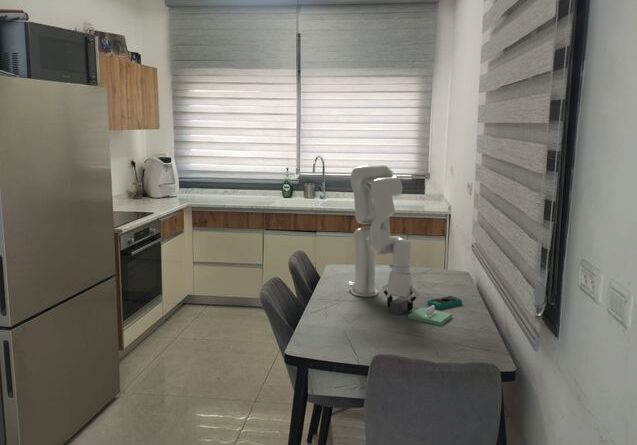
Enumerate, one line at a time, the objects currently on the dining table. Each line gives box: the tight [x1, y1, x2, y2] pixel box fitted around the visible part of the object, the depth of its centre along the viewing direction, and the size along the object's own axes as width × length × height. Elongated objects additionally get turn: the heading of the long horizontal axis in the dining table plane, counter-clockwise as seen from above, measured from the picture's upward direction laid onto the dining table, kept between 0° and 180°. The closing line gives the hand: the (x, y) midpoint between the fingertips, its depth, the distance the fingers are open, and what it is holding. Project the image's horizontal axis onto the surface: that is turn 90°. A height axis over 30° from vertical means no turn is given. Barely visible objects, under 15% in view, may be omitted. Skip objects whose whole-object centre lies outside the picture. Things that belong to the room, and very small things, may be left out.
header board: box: [407, 305, 453, 326], centre depth 224 cm, size 14×12×4 cm
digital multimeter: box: [427, 295, 463, 310], centre depth 241 cm, size 7×15×3 cm, turn 121°
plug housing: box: [389, 296, 409, 316], centre depth 232 cm, size 4×9×5 cm, turn 145°
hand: (399, 308), depth 232 cm, fingers open, 8 cm apart
